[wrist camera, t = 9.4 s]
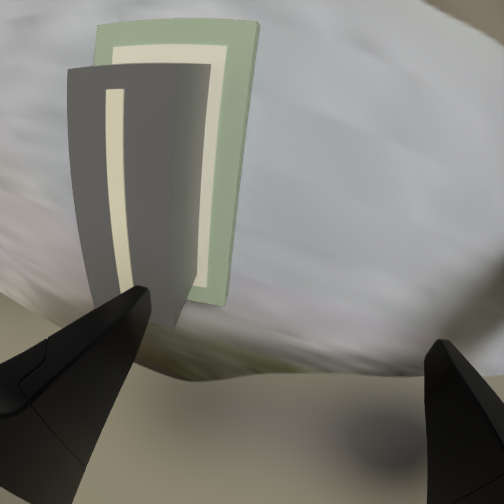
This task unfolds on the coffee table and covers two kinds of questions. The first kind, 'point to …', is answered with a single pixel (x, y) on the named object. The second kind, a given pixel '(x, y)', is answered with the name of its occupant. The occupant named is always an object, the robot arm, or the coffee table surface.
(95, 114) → the panel
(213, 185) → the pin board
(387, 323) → the coffee table surface
